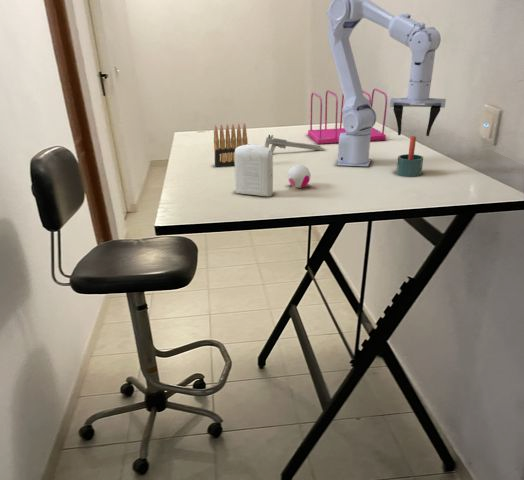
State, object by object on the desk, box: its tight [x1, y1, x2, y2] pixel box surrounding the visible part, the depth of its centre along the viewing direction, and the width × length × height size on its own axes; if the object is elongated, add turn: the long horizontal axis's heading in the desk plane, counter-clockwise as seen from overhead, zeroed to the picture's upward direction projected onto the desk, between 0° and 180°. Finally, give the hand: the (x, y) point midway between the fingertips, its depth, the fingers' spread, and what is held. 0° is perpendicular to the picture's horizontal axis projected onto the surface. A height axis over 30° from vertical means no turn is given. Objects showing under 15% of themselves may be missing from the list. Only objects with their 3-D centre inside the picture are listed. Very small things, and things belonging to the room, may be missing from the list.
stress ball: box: [287, 164, 311, 189], centre depth 142 cm, size 8×8×7 cm
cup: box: [396, 153, 424, 177], centre depth 151 cm, size 7×7×4 cm
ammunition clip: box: [213, 123, 249, 168], centre depth 162 cm, size 11×2×12 cm, turn 101°
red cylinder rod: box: [407, 135, 417, 160], centre depth 150 cm, size 2×2×10 cm
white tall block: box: [234, 143, 274, 197], centre depth 136 cm, size 10×4×12 cm, turn 69°
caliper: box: [264, 134, 325, 154], centre depth 176 cm, size 20×1×6 cm, turn 102°
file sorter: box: [307, 87, 388, 145], centre depth 191 cm, size 17×25×16 cm
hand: (413, 134), depth 148 cm, fingers open, 7 cm apart
